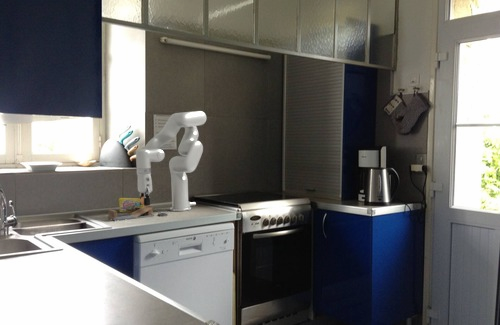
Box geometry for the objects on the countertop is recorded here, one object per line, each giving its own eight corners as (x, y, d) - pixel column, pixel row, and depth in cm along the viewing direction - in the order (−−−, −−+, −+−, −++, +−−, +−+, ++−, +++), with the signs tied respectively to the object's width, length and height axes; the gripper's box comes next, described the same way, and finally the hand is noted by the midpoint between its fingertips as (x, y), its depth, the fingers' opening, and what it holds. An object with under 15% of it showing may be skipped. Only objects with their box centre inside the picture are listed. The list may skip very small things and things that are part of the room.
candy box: (119, 212, 272) (118, 198, 272) (121, 211, 274) (120, 197, 274) (143, 213, 267) (142, 198, 267) (145, 212, 269) (144, 198, 269)
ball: (147, 204, 259) (147, 195, 259) (151, 205, 255) (150, 196, 255) (138, 205, 257) (138, 196, 256) (142, 206, 252) (142, 196, 252)
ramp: (146, 214, 262) (146, 205, 261) (153, 216, 254) (153, 206, 254) (108, 218, 249) (108, 209, 249) (114, 221, 242) (113, 211, 241)
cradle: (163, 214, 259) (163, 212, 259) (167, 215, 255) (167, 213, 255) (157, 215, 257) (157, 213, 257) (161, 216, 253) (161, 214, 253)
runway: (147, 214, 262) (147, 211, 262) (153, 216, 254) (153, 212, 254) (108, 218, 249) (108, 215, 249) (114, 221, 242) (114, 217, 242)
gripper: (156, 172, 250) (157, 205, 251) (144, 170, 264) (145, 202, 265) (143, 172, 246) (144, 207, 247) (131, 171, 260) (132, 204, 261)
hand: (145, 204), depth 256 cm, fingers closed on ball, 4 cm apart
